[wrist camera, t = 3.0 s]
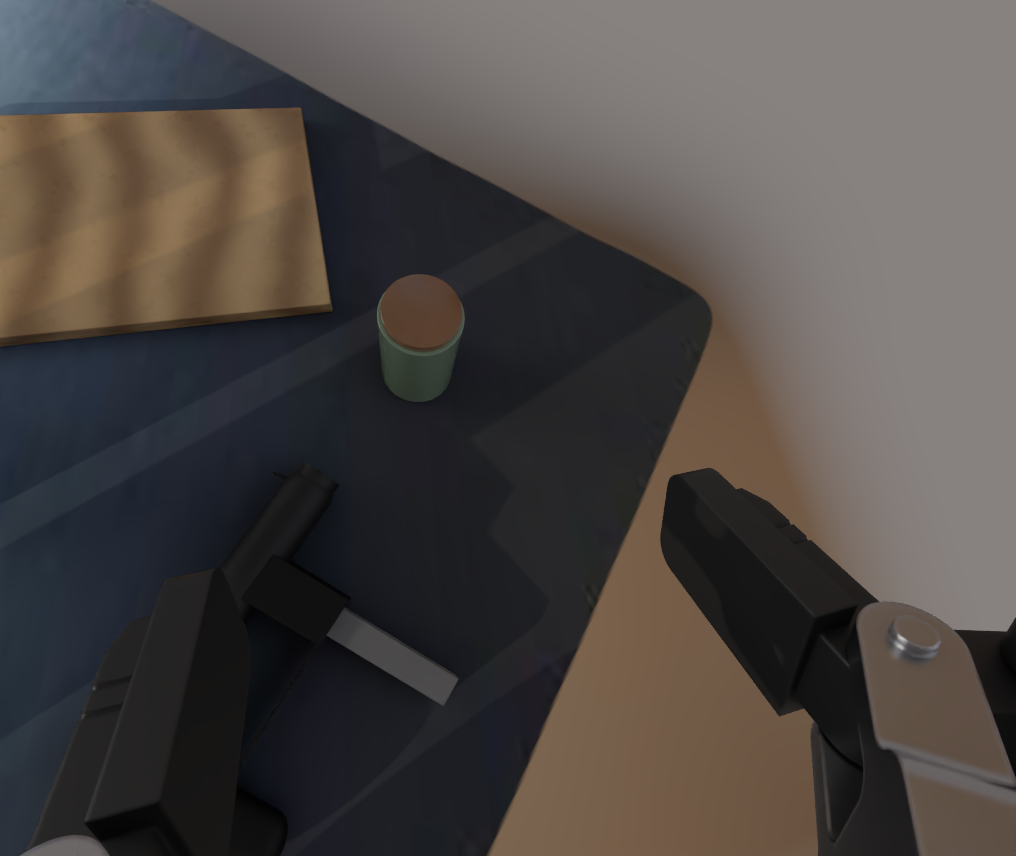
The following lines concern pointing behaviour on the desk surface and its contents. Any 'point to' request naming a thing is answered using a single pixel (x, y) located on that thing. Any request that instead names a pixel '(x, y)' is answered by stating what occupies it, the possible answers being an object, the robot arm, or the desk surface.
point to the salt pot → (419, 336)
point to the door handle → (305, 625)
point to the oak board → (155, 222)
